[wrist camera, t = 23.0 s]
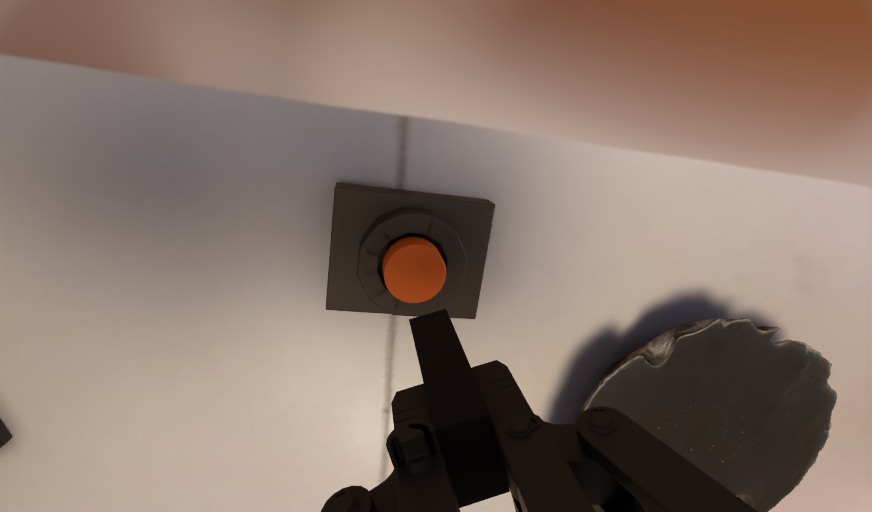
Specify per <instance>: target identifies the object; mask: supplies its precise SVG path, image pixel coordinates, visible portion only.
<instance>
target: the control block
mask: <svg viewBox="0 0 872 512" xmlns="http://www.w3.org/2000/svg"><path fill="white" fill-rule="evenodd" d="M494 209H495V204H493V203H492V202H490V201H489V200H486V199H477V198H468V197H459V196H450V195H442V194H433V193H424V192H415V191H406V190H397V189H388V188H380V187H371V186H362V185H353V184H344V183H336V186H335V192H334V205H333V218H332V232H331V245H330V258H329V272H328V285H327V298H326V310H338V311H354V312H369V313H385V314H393V315H402V316H418V317H419V316H423V315H426V314H429V313H433V312H436V311H439V310H443V309H446V310H447V312H448V315H449V317H450V318H465V319H475V317H476V312H477V306H478V300H479V295H480V289H481V283H482V278H483V272H484V266H485V260H486V255H487V249H488V243H489V238H490V232H491V226H492V221H493V215H494ZM406 237H420V238H424V239H426V240H428V241H430V242H431V243H432V244H433V245H434V246H435V247H436V248H437V250H438V251H439V253H440V255H441V257H442V259H443V261H444V263H445V267H446V278H445V282H444V284H443V286H442V288H441V289H440V291H439V292H438V293H437V294H436V295H435V296H434V297H432V298H431V299H429V300H427V301H424V302H420V303H408V302H404V301H401V300H399V299H397V298H396V297H394V296H393V295H392V294H391V293H390V291H389V290H388V288H387V287H386V284H385V281H384V274H383V259H384V256H385V254H386V252H387V250H388V249H389V248H390V246H391V245H393V244H394V243H395V242H396V241H398V240H400V239H403V238H406Z"/></svg>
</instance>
